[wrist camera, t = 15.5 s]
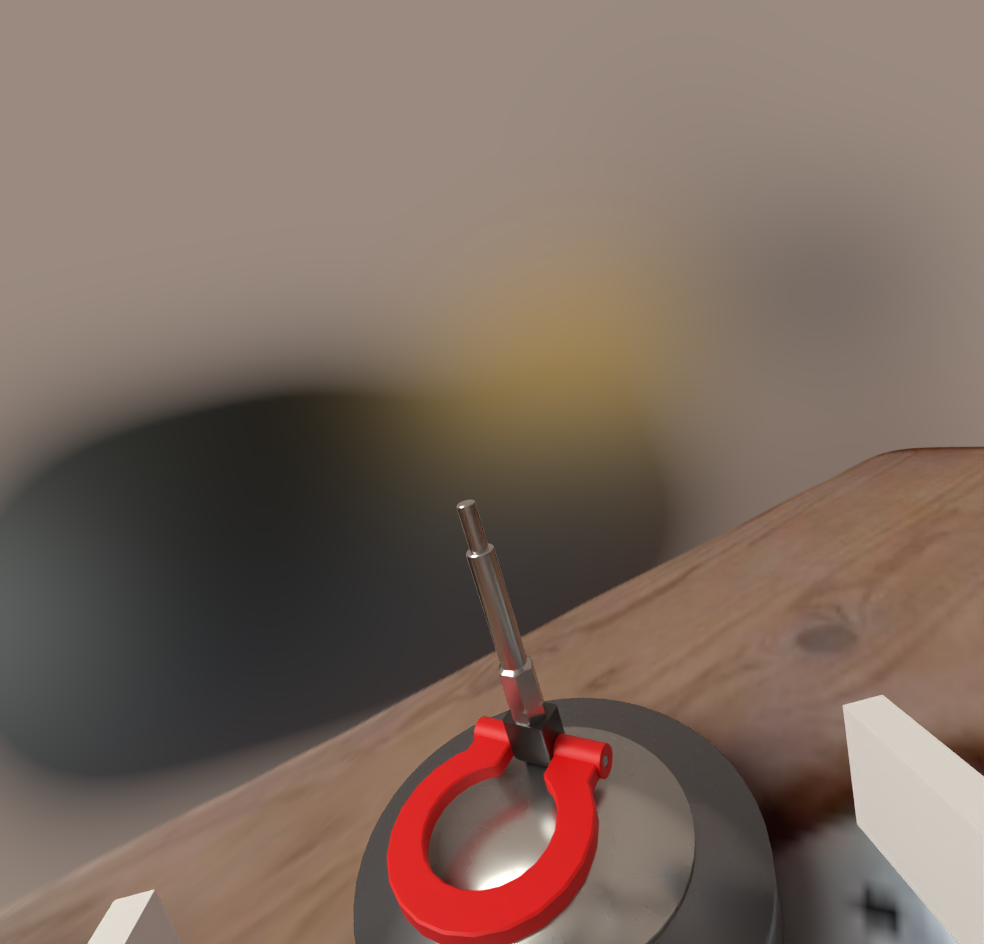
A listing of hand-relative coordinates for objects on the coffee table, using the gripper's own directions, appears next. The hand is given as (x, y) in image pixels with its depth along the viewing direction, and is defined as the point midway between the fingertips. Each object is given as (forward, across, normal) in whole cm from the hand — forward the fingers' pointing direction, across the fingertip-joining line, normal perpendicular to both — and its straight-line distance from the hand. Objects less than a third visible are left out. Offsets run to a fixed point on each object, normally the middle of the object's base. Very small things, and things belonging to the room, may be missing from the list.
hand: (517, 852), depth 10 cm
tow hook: (+10, -2, -10) cm, 14 cm away
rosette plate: (+10, 0, -12) cm, 16 cm away
